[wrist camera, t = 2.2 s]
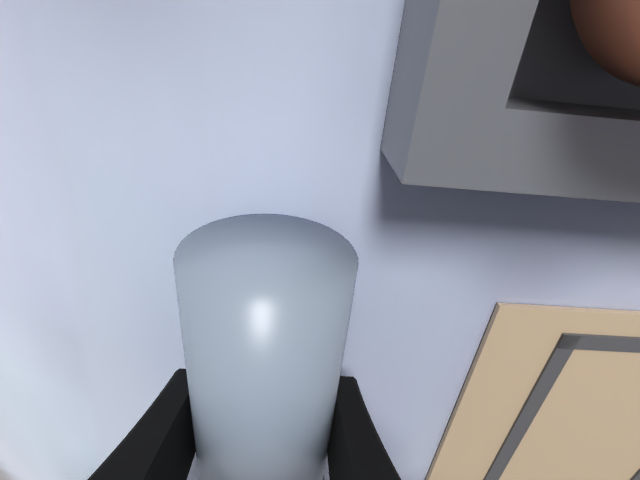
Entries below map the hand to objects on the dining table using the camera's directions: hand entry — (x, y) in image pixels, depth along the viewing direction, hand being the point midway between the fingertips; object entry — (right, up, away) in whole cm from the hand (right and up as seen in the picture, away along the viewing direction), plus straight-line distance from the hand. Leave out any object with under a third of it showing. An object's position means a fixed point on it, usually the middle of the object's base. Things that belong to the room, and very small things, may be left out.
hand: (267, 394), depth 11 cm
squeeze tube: (0, +1, +1) cm, 1 cm away
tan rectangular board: (+12, -5, +4) cm, 14 cm away
